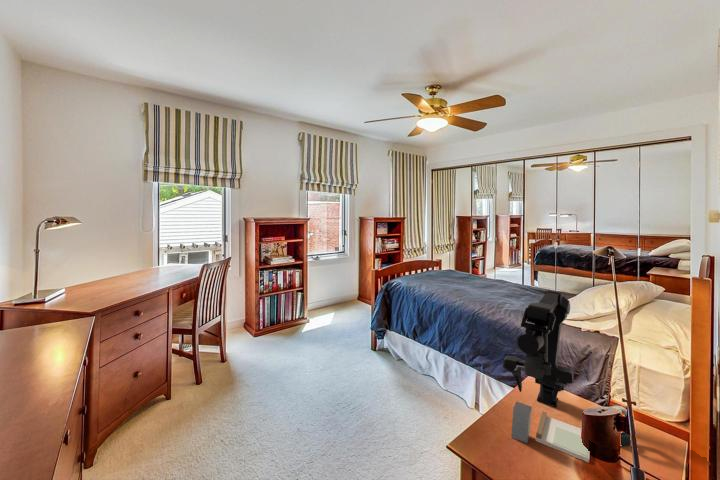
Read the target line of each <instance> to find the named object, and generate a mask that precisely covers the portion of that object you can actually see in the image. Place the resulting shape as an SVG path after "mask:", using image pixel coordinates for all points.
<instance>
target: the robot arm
mask: <svg viewBox="0 0 720 480" xmlns="http://www.w3.org/2000/svg"><path fill="white" fill-rule="evenodd" d="M570 312H571V303H570V300H569V299H568V298H566V297H565V296H563V293H561V292H559V291H554V290H553V291H552V290H545V291H544V295H543V296H542V297H541V299H540V300H539V301H538V302H531V303H529V305H528V306H526V307H525V310H524V313H523V316H522V319H521V323H520V327H521V328H525V331H524V332H523V333H522V334H521V335H519V336H518V338H517V346H518V348H519V350H520V351H521V352H522V353H524V354H526V355H525V358H524V361H521V360H520V357H517V356H513V355H507V356H505V358H504V359H503V361H502V367H503V369H506V370H507V371H508V372H509V373H511V374H512V375H513V378H514V380H515V382H516V386H517V388H518V390H519V392H520V393H522V390H523V382H522V381H523V380H522V371H521V369H524V376H527V377H533V378H534V380H535V381H534V383H535V384H538V385H539V392H538V395H537V397H536V401H537V402H540V403H542V404H546V405H549V406H552V407H554V408H557V407H558V403H559V397H558V394H559V392H560V393H561V391H565V385H566V386H567V385H568V384H573V381H574V369H572V368H571V367H567V366H562V365H560V364H559V363H558V358H559V357H558V356H559V348H560V338H561V330H562V328H561V327H562V323H563V322H564V321H565V320H566V319H567V318H568V315H570Z"/></svg>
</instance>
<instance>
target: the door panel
mask: <svg viewBox="0 0 720 480" xmlns="http://www.w3.org/2000/svg"><path fill="white" fill-rule="evenodd" d="M539 419H540V420H539V423H538V425H537V426H538V427H537V430H536V434H535V441H536V442H538V443H540V444H543V445H545V446H547V447H550V448H552V449H554V450H557V451H560V452H562V453H564V454H567V455H570V456H572V457H574V458H577V459H579V460H582V461H584V462H586V463H590V453H591V451H588V449H587V448H586V447H585V446H584V445H583V443H582V439H581V429H582V428H581V427H578V426H575V425H572V424H569V423H567V422H565V421H561V420H559V419H556V418H552V417H550V416H548V412H545V411H541V415H540V418H539Z"/></svg>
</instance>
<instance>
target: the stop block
mask: <svg viewBox="0 0 720 480" xmlns="http://www.w3.org/2000/svg"><path fill="white" fill-rule="evenodd" d="M532 409H533V406H530V405H528V404H525V403H523V402H520V401H515V403H514V406H513V409H512V421H511V422H512V424H511V436H510V438H512V439H513V440H517V441H518V442H521V443H524V444H526V445H527V444H528V442H529V438H530V436H531V435H530V433H531V432H530V431H531V421H532V412H533V411H532Z"/></svg>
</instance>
